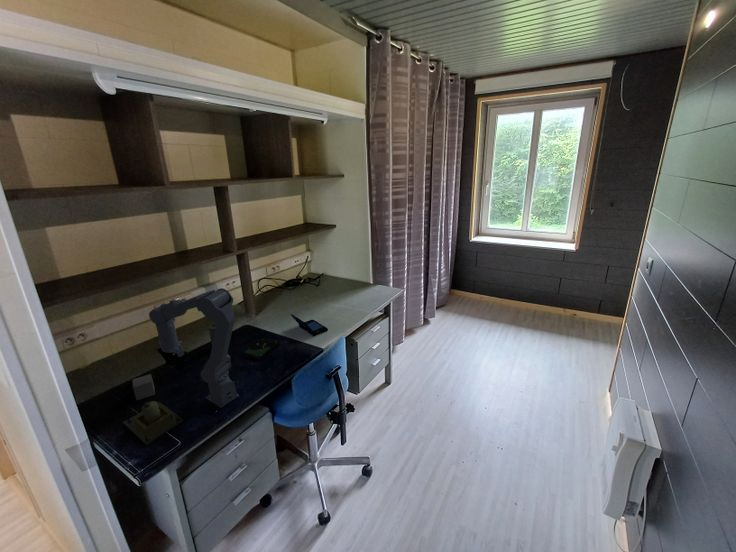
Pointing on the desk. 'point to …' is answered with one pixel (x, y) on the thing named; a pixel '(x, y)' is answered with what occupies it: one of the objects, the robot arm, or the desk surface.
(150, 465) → the desk surface
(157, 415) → the switch lever
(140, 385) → the grey cube
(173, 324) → the robot arm
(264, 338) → the disk drive
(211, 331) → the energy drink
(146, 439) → the mounting bracket
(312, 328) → the black handheld device
